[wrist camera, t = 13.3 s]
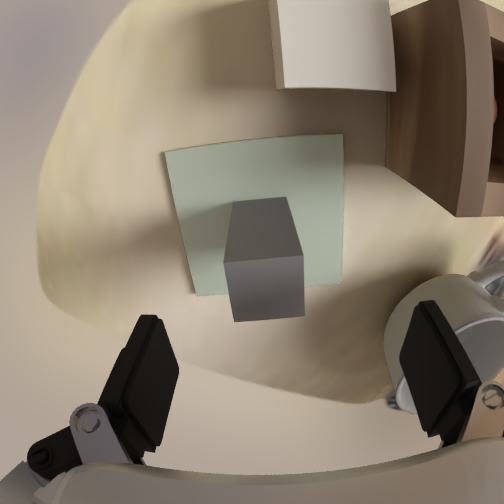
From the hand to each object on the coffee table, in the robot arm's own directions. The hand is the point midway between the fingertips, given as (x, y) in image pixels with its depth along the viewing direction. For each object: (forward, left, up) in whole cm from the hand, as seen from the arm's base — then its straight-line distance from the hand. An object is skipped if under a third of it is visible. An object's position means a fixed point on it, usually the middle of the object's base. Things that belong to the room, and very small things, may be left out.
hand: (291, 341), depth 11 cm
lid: (+1, 0, -11) cm, 11 cm away
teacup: (-14, +8, -10) cm, 19 cm away
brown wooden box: (-12, -8, -10) cm, 18 cm away
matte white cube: (-3, -11, -10) cm, 16 cm away
